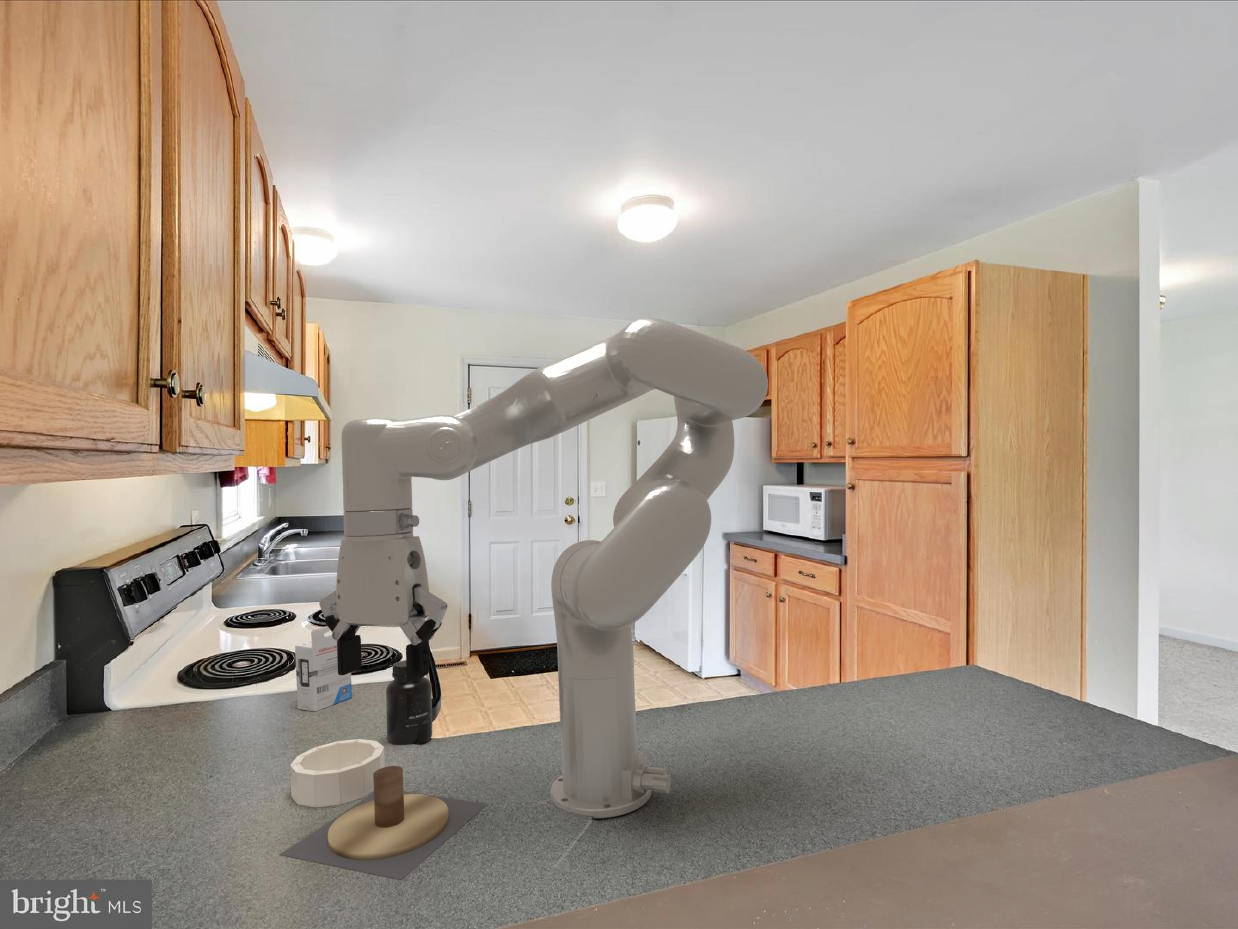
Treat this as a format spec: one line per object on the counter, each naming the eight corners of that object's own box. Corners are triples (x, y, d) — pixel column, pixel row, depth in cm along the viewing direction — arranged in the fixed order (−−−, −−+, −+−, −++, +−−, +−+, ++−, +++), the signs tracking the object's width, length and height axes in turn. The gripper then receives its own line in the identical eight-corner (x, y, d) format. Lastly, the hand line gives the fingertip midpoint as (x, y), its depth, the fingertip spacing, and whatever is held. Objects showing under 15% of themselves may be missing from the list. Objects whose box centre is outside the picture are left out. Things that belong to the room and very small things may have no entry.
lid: (470, 808, 80) (468, 755, 80) (399, 868, 68) (396, 805, 68) (382, 795, 84) (380, 744, 85) (301, 849, 72) (299, 790, 72)
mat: (488, 808, 81) (488, 803, 81) (401, 885, 66) (401, 879, 66) (381, 792, 86) (381, 788, 86) (279, 860, 71) (279, 854, 71)
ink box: (335, 695, 129) (332, 619, 130) (353, 698, 127) (350, 620, 127) (295, 709, 122) (293, 628, 122) (314, 712, 119) (311, 630, 120)
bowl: (401, 777, 91) (400, 744, 91) (341, 816, 80) (340, 778, 81) (337, 768, 95) (336, 736, 95) (273, 804, 84) (271, 768, 84)
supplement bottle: (419, 749, 100) (416, 669, 100) (378, 748, 101) (375, 669, 102) (440, 732, 107) (438, 657, 107) (401, 731, 108) (399, 657, 108)
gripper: (461, 522, 77) (466, 670, 77) (344, 524, 84) (348, 661, 83) (420, 527, 70) (425, 690, 70) (295, 529, 77) (299, 679, 76)
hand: (383, 674), depth 77 cm, fingers open, 9 cm apart
